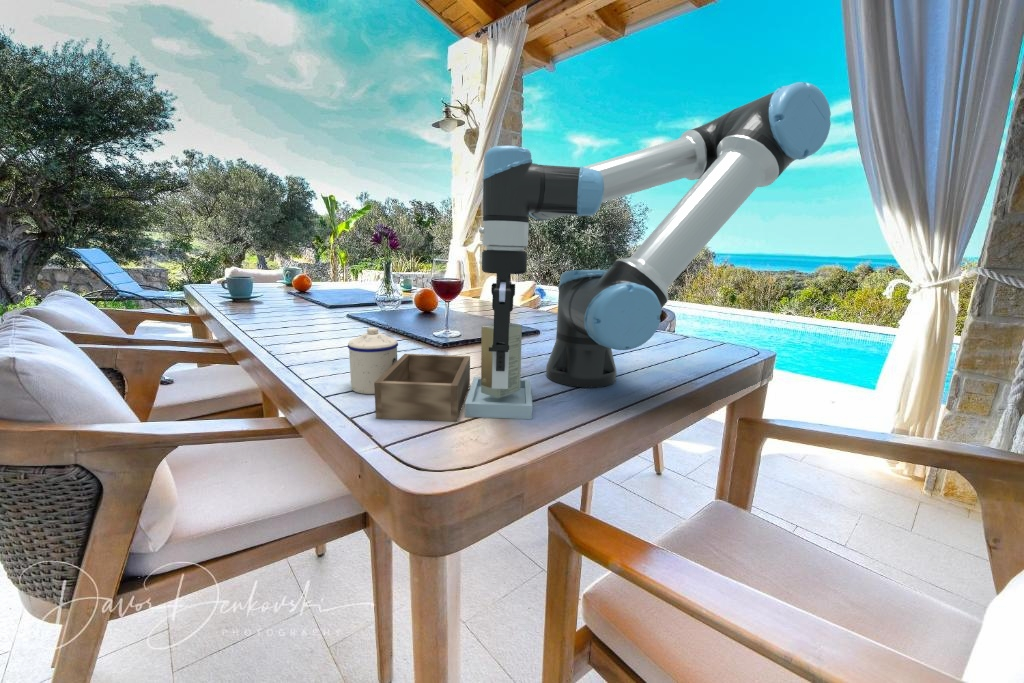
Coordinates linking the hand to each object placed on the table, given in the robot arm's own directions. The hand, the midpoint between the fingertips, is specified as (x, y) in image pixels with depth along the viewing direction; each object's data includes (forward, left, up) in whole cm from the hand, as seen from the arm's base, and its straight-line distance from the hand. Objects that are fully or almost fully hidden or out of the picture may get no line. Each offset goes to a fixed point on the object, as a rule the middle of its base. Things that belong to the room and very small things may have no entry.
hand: (500, 380), depth 74 cm
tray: (0, 0, -4) cm, 4 cm away
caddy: (+13, 0, -4) cm, 14 cm away
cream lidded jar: (+25, -7, -4) cm, 26 cm away
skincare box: (0, 0, -2) cm, 2 cm away
